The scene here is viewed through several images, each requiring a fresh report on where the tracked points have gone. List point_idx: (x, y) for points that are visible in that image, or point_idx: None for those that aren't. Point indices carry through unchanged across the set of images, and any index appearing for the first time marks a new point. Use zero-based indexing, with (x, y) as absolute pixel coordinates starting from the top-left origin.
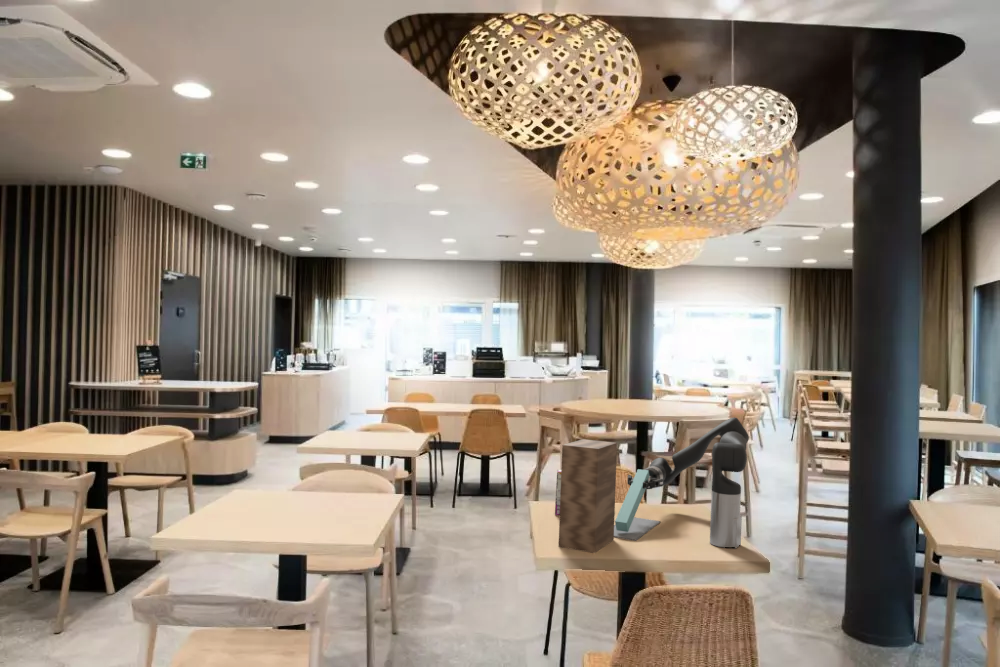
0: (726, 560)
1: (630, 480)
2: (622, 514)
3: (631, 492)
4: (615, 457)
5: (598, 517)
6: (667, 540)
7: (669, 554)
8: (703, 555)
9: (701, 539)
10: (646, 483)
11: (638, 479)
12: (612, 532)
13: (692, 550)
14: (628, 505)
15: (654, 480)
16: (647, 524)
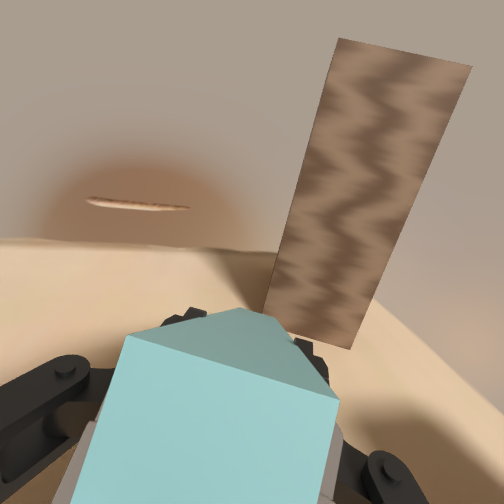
0: (17, 246)
1: (350, 454)
2: (261, 315)
3: (264, 324)
4: (322, 95)
5: (287, 218)
6: (102, 338)
7: (138, 266)
8: (56, 263)
9: None
10: (173, 320)
11: (251, 334)
12: (265, 300)
13: (65, 282)
14: (253, 315)
15: (58, 361)
16: None
